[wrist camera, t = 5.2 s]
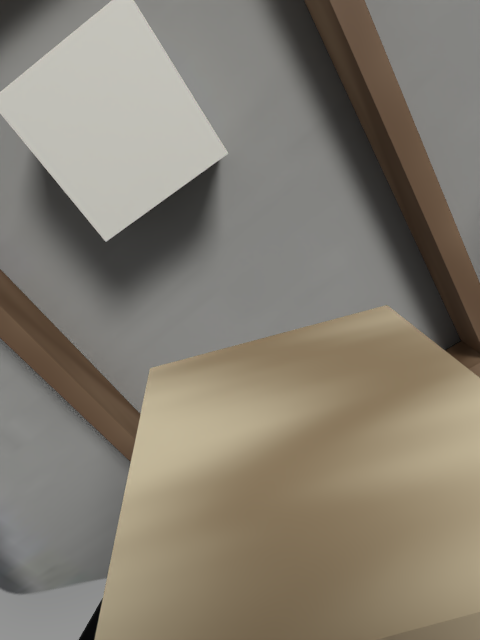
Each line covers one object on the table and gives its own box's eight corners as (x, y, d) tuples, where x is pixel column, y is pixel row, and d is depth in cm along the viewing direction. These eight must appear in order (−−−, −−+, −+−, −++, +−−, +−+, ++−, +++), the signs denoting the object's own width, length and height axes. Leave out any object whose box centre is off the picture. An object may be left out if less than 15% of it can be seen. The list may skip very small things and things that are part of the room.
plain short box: (142, 30, 15) (126, -12, 11) (220, 153, 16) (228, 153, 13) (38, 113, 15) (-11, 100, 12) (124, 223, 17) (105, 241, 13)
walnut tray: (221, -264, 12) (226, -339, 10) (484, 344, 21) (512, 362, 19) (-196, 104, 14) (-254, 96, 12) (207, 506, 24) (209, 536, 22)
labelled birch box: (386, 305, 8) (701, 551, 3) (404, 489, 10) (611, 818, 5) (150, 368, 8) (77, 720, 3) (216, 540, 10) (238, 920, 5)
